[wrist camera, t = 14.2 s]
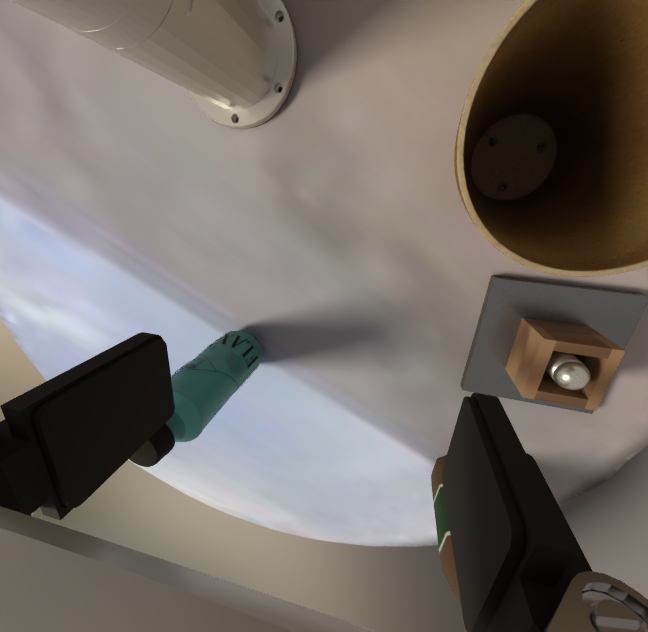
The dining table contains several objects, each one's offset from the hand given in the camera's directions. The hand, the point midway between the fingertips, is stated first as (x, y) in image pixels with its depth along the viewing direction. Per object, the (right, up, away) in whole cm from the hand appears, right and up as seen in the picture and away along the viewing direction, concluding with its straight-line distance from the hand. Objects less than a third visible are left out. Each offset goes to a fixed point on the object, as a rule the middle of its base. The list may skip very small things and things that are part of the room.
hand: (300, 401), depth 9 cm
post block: (+25, 0, +25) cm, 36 cm away
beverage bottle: (-10, -1, +34) cm, 36 cm away
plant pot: (+19, +17, +20) cm, 32 cm away
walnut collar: (+25, -1, +24) cm, 35 cm away
